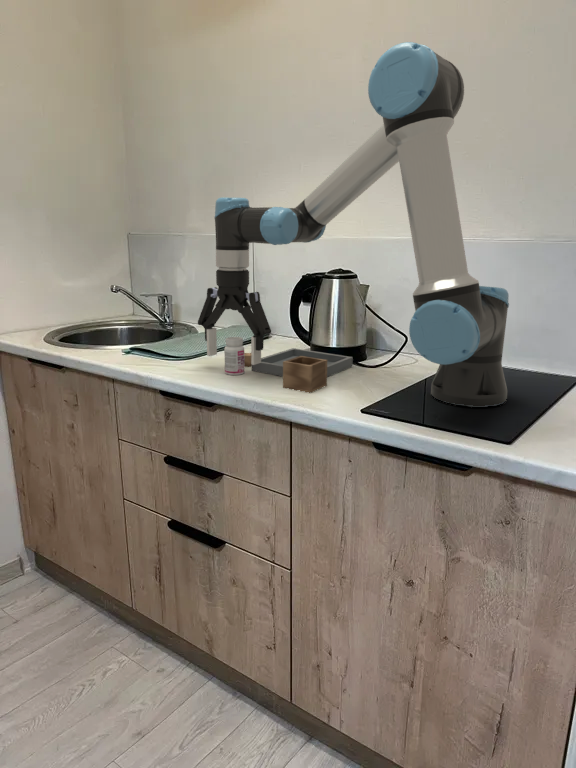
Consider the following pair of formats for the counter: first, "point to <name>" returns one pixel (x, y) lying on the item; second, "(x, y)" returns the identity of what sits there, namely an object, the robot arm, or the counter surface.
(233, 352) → the pill bottle
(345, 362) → the tray
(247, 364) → the stained block
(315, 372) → the walnut box
